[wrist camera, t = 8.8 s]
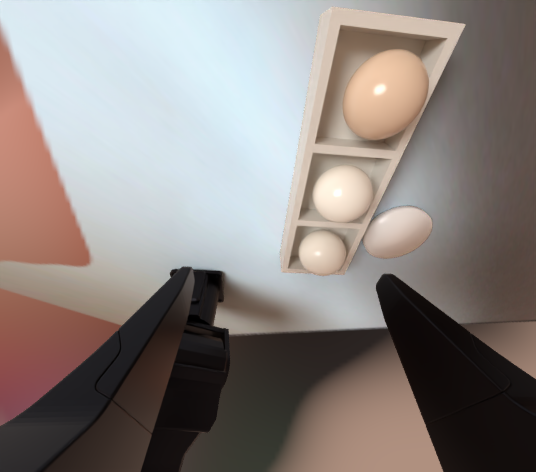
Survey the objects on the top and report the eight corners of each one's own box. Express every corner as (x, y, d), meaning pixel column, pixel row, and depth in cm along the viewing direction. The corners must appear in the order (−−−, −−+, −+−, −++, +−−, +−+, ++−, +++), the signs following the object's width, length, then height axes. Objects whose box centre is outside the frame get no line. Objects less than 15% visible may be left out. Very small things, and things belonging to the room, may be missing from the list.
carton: (337, 255, 27) (344, 274, 24) (279, 253, 26) (281, 272, 24) (431, 29, 14) (465, 24, 11) (320, 15, 13) (332, 6, 11)
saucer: (407, 255, 27) (411, 259, 26) (353, 252, 26) (355, 257, 26) (441, 207, 22) (446, 212, 22) (377, 203, 22) (380, 207, 21)
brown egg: (375, 130, 17) (420, 150, 13) (322, 128, 16) (356, 149, 12) (404, 53, 14) (470, 54, 10) (341, 44, 13) (393, 42, 9)
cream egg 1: (350, 205, 21) (368, 235, 17) (303, 202, 20) (312, 232, 17) (369, 157, 18) (395, 183, 14) (314, 153, 17) (328, 178, 14)
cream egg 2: (331, 253, 25) (343, 286, 21) (292, 251, 25) (298, 284, 21) (344, 221, 22) (359, 253, 18) (300, 219, 22) (307, 251, 18)
